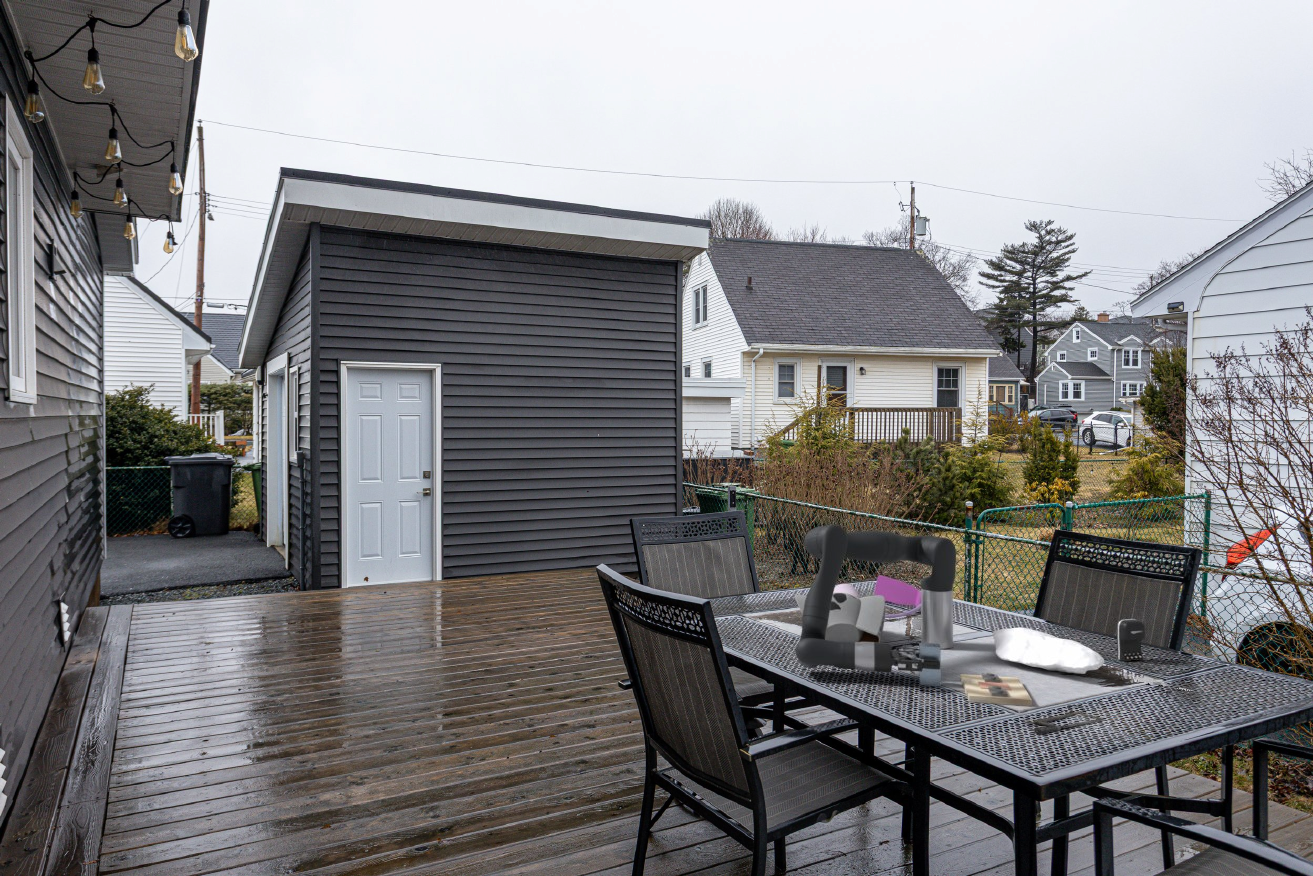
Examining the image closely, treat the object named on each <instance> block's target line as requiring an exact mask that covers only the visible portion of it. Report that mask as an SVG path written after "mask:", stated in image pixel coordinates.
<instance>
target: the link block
mask: <svg viewBox="0 0 1313 876" xmlns="http://www.w3.org/2000/svg"><path fill="white" fill-rule="evenodd" d="M918 644H919V647H918V649H919V658H920V659H924V660H925V659H927V660H939V661H940V669H939V670H938V669H924V670H922V671H921V672H919V671H918V672H919V685H920V686H929V687H932V686H933V687H942V686H941V685H942V681H941V680H942V675H941V674H942V673H941V672H942V669H941V668H942V665H941V663H942V661H941V658H942V657H941V656H942V655H941V652H942V651H941V647H940V644H932V643H921V642H919V643H918Z"/></svg>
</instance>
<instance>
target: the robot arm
mask: <svg viewBox="0 0 1313 876" xmlns="http://www.w3.org/2000/svg"><path fill="white" fill-rule="evenodd" d="M846 531H847V530H845V529H844V528H843V527H842V526H840V525H838V524H827V525H821V526H816V527H814V528H812V529H810V530H809V531H808V532H807V533H806V534H805V537H804V540H803V542H804V543H803V544H804V548H805V551H807V553H808V554H809V555H810V556H811V557H813V558H815V559H818V560H819V559H820V560H821V563H820V567H819V570H818V572H817V575H816V577H815V579H814V581H813V583H812V584H811V586H810V588H809V590H808V591H807V594H806V595H805V596H806V600H805V604H804V610H803V614H802V617H801V634H800V638H799V642H798V643H797V644H796V645H795V646H796V647H795V655H796V658H797V660H798V661H799V662H798V663H800V665H801V666H803V667H805V668H808V669H814V668H818V667H819V666H828V667H829V666H830V667H834V668H836V669H842V670H855V671H856V670H857V671H861V672H872V673H873V672H874V673H888V674H889V673H891V672H892V671H893V666H895V667H897V670H898V671H902V672H903V671H905V672H921V671H922V670H924V669H938V670H939V669H940V661H939V660H927V659H925V660H924V659H920V658H919V647H917V648H916V647H914V648H913V647H900V646H897V647H895V650H892V644H891V643H890V642H879V643H876V642H834V641H829V640H825V634H826V629H827V625H828V619H829V613H830V606H831V601H832V596H833V592H834V588H835V587H836V586H837V585H836V584H837V581H838V578H839V575H840V572H841V569H842V566H843V562H844V561H845V559H852V560H855V561H856V560H857V561H862V562H873V563H881V564H882V563H883V564H893V563H894V564H895V563H898V562H901V561H902V562H903V561H908V562H913V563H917V564H920V565H921V564H922V565H924V566H930V567H931V574H930V575H929V576H926V577H923V578H922V579H921V580H920V592H921V608H920V612H921V614H920V616H921V617H920V620H921V621H920V625H921V627H920V631H921V632H920V633H921V634H920V635H921V636H920V641H921V642H920V643H932V644H940V647H941V649H950V648H951V649H952V648H953V647H954V606H953V605H954V599H953V598H954V597H953V596H954V595H953V593H954V592H953V590H954V587H953V586H954V584H955V583H954V582H955V580H956V569H957V568H956V567H957V565H956V564H957V551H956V549H957V548H956V546H955V543H954V541H953V540H951V539H949V538H947V537H942V536H936V535H935V536H934V535H919V536H918V535H917V536H905V535H901V534H898V533H896V532H890V531H881V530H861V531H853V532H846Z"/></svg>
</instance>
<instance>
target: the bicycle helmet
mask: <svg viewBox="0 0 1313 876" xmlns="http://www.w3.org/2000/svg"><path fill="white" fill-rule="evenodd" d="M806 596H807V595H803V594H795V595H794V599H795V601H796V604H797V605H798V608H799V610H800V613H801V614H802V615H803V610H804V604H805V600H806ZM885 615H886V600H885V599H884V597H883V596H882V595H876V596H874V595H868V596H867V595H866V596H863V597H860V598H857V597H855V596H852V595H850V594H846V593H833V596H832V601H831V606H830V613H829V619H828V625H827V629H826V634H825V640H829V641H834V642H876V643H881V639H882V636H883V633H884V627H885V620H886V618H885Z"/></svg>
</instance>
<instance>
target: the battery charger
mask: <svg viewBox="0 0 1313 876" xmlns="http://www.w3.org/2000/svg"><path fill="white" fill-rule="evenodd" d="M1145 625H1146V624H1145V623H1144V622H1143V621H1141V620H1138V619H1135V618H1127V619H1120V620H1118V622H1117V624H1116V645H1117V648H1116V649H1117V657H1116V658H1117V659H1118V660H1121V661H1123V662H1132V661H1131V660H1140V661H1143V660H1144V656H1143V653H1142V642H1143V640H1146V626H1145ZM1142 659H1143V660H1142Z"/></svg>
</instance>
